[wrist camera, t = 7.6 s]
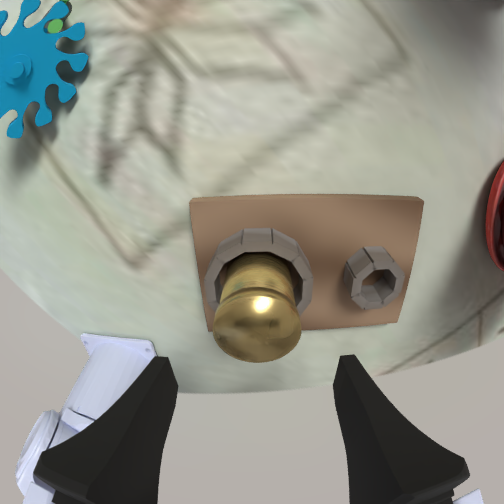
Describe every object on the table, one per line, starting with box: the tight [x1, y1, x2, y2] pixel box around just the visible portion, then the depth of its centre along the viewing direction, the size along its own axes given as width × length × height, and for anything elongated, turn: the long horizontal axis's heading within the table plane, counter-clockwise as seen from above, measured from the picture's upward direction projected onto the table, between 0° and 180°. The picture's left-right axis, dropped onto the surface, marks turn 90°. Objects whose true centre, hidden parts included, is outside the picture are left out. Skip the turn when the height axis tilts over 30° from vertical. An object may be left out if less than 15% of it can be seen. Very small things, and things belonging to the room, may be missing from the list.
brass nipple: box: [213, 251, 301, 363], centre depth 16 cm, size 4×4×6 cm
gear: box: [0, 0, 88, 138], centre depth 11 cm, size 11×6×10 cm
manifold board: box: [189, 194, 424, 332], centre depth 18 cm, size 10×15×3 cm, turn 93°
